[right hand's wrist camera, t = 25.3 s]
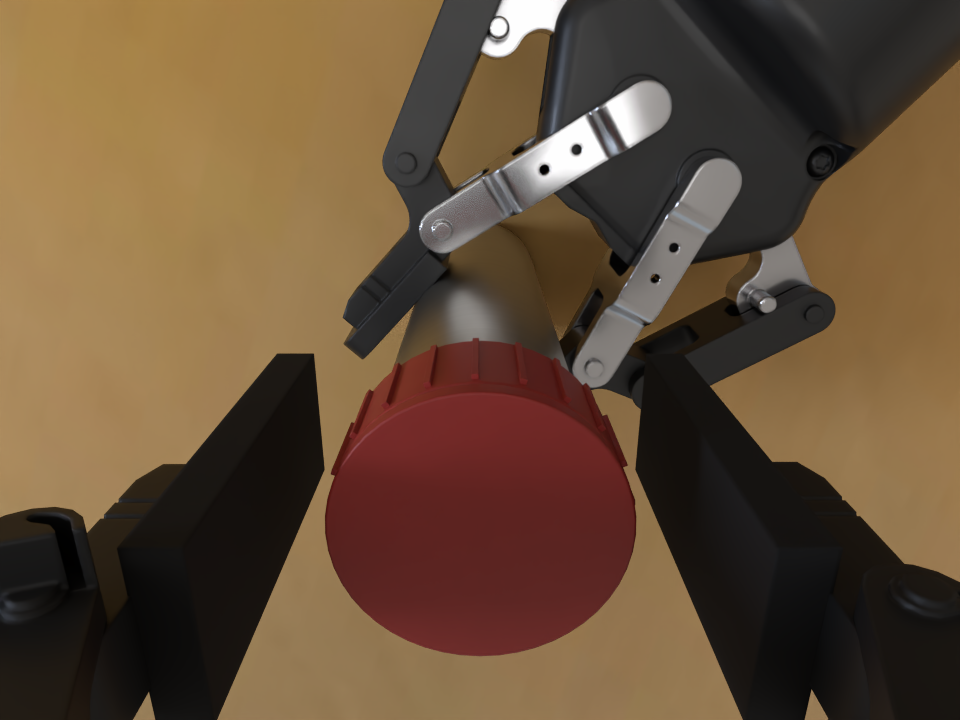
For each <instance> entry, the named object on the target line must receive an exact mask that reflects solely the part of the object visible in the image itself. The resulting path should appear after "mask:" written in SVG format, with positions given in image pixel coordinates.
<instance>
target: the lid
mask: <svg viewBox="0 0 960 720" xmlns="http://www.w3.org/2000/svg"><path fill="white" fill-rule="evenodd" d="M625 466H628V465H627V462H626V460H625V457H624V455H623V453H622V450H621V448H620V445H619V443H618V440H617V438H616V436H615V433H614V431H613V428H612V426H611V423H610V421H609V419H608V416H607V415H604V416H602V414H601V412H600V410H599V408H598V406H597V404H596V402H595V399H594V397H593V394H592V391H591V389H590V386H589V385H588V384H587V383H585V384H584V385H582V384H581V382H580V381H579V380H578V379H577V378H576V377H575V376H573V375H572V374H571V373H570V372H569V371H568V370H566V369H565V368H564V367H563V366H561V363H560V360H558V359H557V358H554V359H553V360H552V359H550V358H548V357H546V356H544V355H542V354H540V353H538V352H536V351H533V350H530V349H527V348H524V347H522V344H521V343H518V342H515V345H513V344H508V343H503V342H495V341H479V338H473V341H466V342H459V343H453V344H448V345H444V346H440V347H437V345H433V346H431V347H430V350H428V351H426V352H424V353H422V354H419V355H417V356H415V357H413V358H411V359H410V360H408V361H406V362H405V363H403V364H402V365H401V364H400V363H399V362H398V363H397V364H395V365H394V367H393V370H392V372H391V373H390V374H389V375H388V376H387V377H385V378H384V379H383V381H382V382H381V383H380V384H379V385H378V386H377V387H376V388H375V389H374V391H371V390H370V389H369V390H368V392H367V393H366V396H365V398H364V401H363V403H362V406H361V408H360V411H359V413H358V416H357V418H356V421H355V423H351V425H350V427H349V429H348V432H347V434H346V437H345V439H344V442H343V444H342V446H341V449H340V451H339V454H338V456H337V459H336V461H335V464H334V466H333V468H332V471H331V475H334V476H335V477H334V480H333V483H332V486H331V489H330V492H329V496H328V499H327V506H326V513H325V534H326V540H327V546H328V551H329V554H330V557H331V560H332V563H333V566H334V569H335V571H336V573H337V575H338V577H339V579H340V581H341V583H342V584H343V586H344V587H345V589H346V590H347V592H348V593H349V595H350V596H351V598H352V599H353V600H354V601H355V602H356V603H357V604H358V605H359V607H360V608H361V609H362V610H363V611H364V612H365V613H367V614H368V615H369V616H370V617H371V618H372V619H373V620H375V621H376V622H377V623H378V624H380V625H381V626H383V627H384V628H386V629H387V630H389V631H390V632H392V633H394V634H396V635H398V636H400V637H402V638H403V639H405V640H407V641H410V642H412V643H415V644H418V645H420V646H423V647H425V648H429V649H433V650H437V651H440V652H445V653H451V654H457V655H468V656H493V655H504V654H510V653H517V652H521V651H525V650H529V649H532V648H536V647H539V646H541V645H544V644H546V643H549V642H552V641H554V640H556V639H558V638H560V637H562V636H564V635H566V634H568V633H569V632H571V631H572V630H574V629H575V628H577V627H578V626H580V625H581V624H583V623H584V622H586V621H587V620H588V619H589V618H590V617H591V616H593V615H594V614H595V613H596V612H597V611H598V610H599V609H600V608H601V607H602V606H603V605H604V604H605V602H606V601H607V600H608V599H609V598H610V597H611V595H612V594H613V592H614V591H615V589H616V588H617V587H618V585H619V583H620V581H621V580H622V578H623V576H624V574H625V572H626V570H627V567H628V564H629V561H630V558H631V555H632V552H633V548H634V542H635V537H636V511H635V499H634V496H633V493H632V491H631V488H630V485H629V482H628V479H627V477H626V474H625V472H624V469H623V467H625Z"/></svg>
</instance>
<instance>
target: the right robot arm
mask: <svg viewBox="0 0 960 720" xmlns="http://www.w3.org/2000/svg"><path fill="white" fill-rule="evenodd" d="M324 470H325V469H324V458H323V447H322V436H321V426H320V415H319V404H318V393H317V382H316V371H315V361H314V354H277V355H276V356H275V357H274V358H273V359H272V361H271V362H270V363H269V364H268V365H267V367H266V368H265V369H264V370H263V372H262V373H261V374H260V375H259V376H258V378H257V379H256V380H255V381H254V382H253V384H252V385H251V386H250V387H249V388H248V390H247V391H246V392H245V393H244V395H243V396H242V397H241V398H240V399H239V401H238V402H237V403H236V404H235V405H234V407H233V408H232V409H231V410H230V411H229V413H228V414H227V415H226V416H225V418H224V419H223V420H222V421H221V422H220V424H219V425H218V426H217V427H216V428H215V430H214V431H213V432H212V433H211V435H210V436H209V437H208V438H207V439H206V441H205V442H204V443H203V444H202V445H201V447H200V448H199V449H198V450H197V451H196V453H195V454H194V455H193V456H192V458H191V459H190V460H189V461H188V462H187V464H163V465H161V466H159V467H158V468H156V469H154V470H153V471H151V472H149V473H148V474H146V475H144V476H142V477H141V478H139V479H137V480H136V481H135V482H134V483H133V484H132V485H131V486H130V487H129V488H128V489H127V491H126V492H125V493H124V494H123V495H122V496H121V497H120V498H119V502H118V503H115V504H114V505H113V506H112V507H111V508H110V509H109V510H108V511H107V512H106V513H105V514H104V519H100V520H99V521H98V522H97V523H96V524H95V525H94V526H93V527H92V528H91V530H90V531H89V532H88V533H87V532H86V528H85V524H84V519H83V517H82V516H81V515H79V514H78V513H76V512H75V511H74V510H71V509H64V508H58V507H48V508H36V509H29V510H25V511H21V512H17V513H13V514H9V515H5V516H3V517H0V720H133V719H134V717H135V715H136V713H137V712H138V710H139V708H140V706H141V705H142V703H143V701H144V699H145V697H146V696H147V694H148V692H149V693H150V698H151V702H152V707H153V711H154V715H155V720H217V719H218V716H219V714H220V712H221V709H222V707H223V705H224V702H225V700H226V698H227V695H228V693H229V691H230V688H231V686H232V684H233V681H234V679H235V677H236V674H237V672H238V670H239V667H240V665H241V663H242V660H243V658H244V656H245V654H246V651H247V649H248V647H249V644H250V642H251V640H252V637H253V635H254V633H255V630H256V628H257V626H258V623H259V621H260V619H261V616H262V614H263V612H264V609H265V607H266V605H267V602H268V600H269V598H270V595H271V593H272V591H273V588H274V586H275V584H276V581H277V579H278V577H279V574H280V572H281V570H282V567H283V565H284V563H285V560H286V558H287V556H288V553H289V551H290V549H291V546H292V544H293V542H294V540H295V537H296V535H297V533H298V530H299V528H300V526H301V523H302V521H303V519H304V516H305V514H306V512H307V509H308V507H309V505H310V502H311V500H312V498H313V495H314V493H315V491H316V488H317V486H318V484H319V481H320V479H321V477H322V474H323V472H324ZM635 470H636V472H637V474H638V477H639V479H640V481H641V484H642V486H643V488H644V491H645V493H646V495H647V498H648V500H649V502H650V505H651V507H652V509H653V512H654V514H655V516H656V519H657V521H658V523H659V526H660V528H661V530H662V533H663V535H664V537H665V540H666V542H667V544H668V546H669V549H670V551H671V553H672V556H673V558H674V560H675V563H676V565H677V567H678V570H679V572H680V574H681V577H682V579H683V581H684V584H685V586H686V588H687V591H688V593H689V595H690V598H691V600H692V602H693V605H694V607H695V609H696V612H697V614H698V616H699V619H700V621H701V623H702V626H703V628H704V630H705V633H706V635H707V637H708V640H709V642H710V644H711V647H712V649H713V651H714V653H715V656H716V658H717V660H718V663H719V665H720V667H721V670H722V672H723V674H724V677H725V679H726V681H727V684H728V686H729V688H730V691H731V693H732V695H733V698H734V700H735V702H736V705H737V707H738V709H739V712H740V714H741V716H742V719H743V720H805V715H806V711H807V707H808V702H809V698H810V693H811V689H812V690H813V692H814V694H815V696H816V697H817V699H818V701H819V703H820V704H821V706H822V708H823V710H824V712H825V713H826V715H827V717H828V720H960V582H958V581H956V580H954V579H952V578H950V577H948V576H945V575H943V574H941V573H939V572H937V571H933V570H930V569H926V568H923V567H919V566H916V565H910V564H904V563H903V562H902V561H901V560H900V559H899V558H898V556H897V555H896V554H895V553H894V552H893V551H892V550H891V549H890V548H889V547H888V546H887V545H886V544H885V543H884V541H883V540H882V539H881V538H880V537H879V536H878V535H877V534H876V533H875V532H874V531H873V530H872V529H871V527H870V526H869V525H868V524H867V523H866V522H865V521H864V520H863V519H862V518H861V517H860V516H857V515H856V511H855V510H854V509H853V508H852V507H851V506H850V505H849V504H848V503H847V502H846V501H845V500H842V496H841V495H840V494H839V493H838V492H837V491H836V490H835V489H834V488H833V487H832V486H831V485H830V483H829V482H828V481H827V480H826V479H825V478H824V477H822V476H820V475H818V474H817V473H815V472H813V471H812V470H810V469H808V468H807V467H805V466H803V465H801V464H800V463H798V462H772V461H771V460H770V459H769V458H768V456H767V455H766V454H765V453H764V451H763V450H762V449H761V448H760V447H759V445H758V444H757V443H756V442H755V441H754V439H753V438H752V437H751V436H750V434H749V433H748V432H747V431H746V430H745V428H744V427H743V426H742V425H741V424H740V422H739V421H738V420H737V419H736V418H735V416H734V415H733V414H732V413H731V411H730V410H729V409H728V408H727V407H726V405H725V404H724V403H723V402H722V401H721V399H720V398H719V397H718V396H717V395H716V393H715V392H714V391H713V390H712V388H711V387H710V386H709V385H708V384H707V382H706V381H705V380H704V379H703V378H702V376H701V375H700V374H699V373H698V372H697V370H696V369H695V368H694V367H693V365H692V364H691V363H690V362H689V361H688V359H687V358H686V357H685V356H684V355H683V354H646V361H645V371H644V382H643V393H642V404H641V415H640V426H639V436H638V447H637V458H636V469H635Z"/></svg>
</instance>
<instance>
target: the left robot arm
mask: <svg viewBox="0 0 960 720" xmlns="http://www.w3.org/2000/svg"><path fill="white" fill-rule="evenodd" d="M533 33H545V34H548V35H550V41H549V48H548V56H547V63H546V70H545V77H544V84H543V91H542V99H541V106H540V113H539V120H538V127H537V133H536V134H535V135H533V136H531V137H530V138H528V139H527V140H525V141H524V142H522V143H520V144H519V145H517V146H516V147H514V148H512V149H511V150H509V151H508V152H506V153H505V154H503V155H501V156H500V157H498V158H497V159H495V160H494V161H492V162H491V163H490V164H488V165H487V166H486V167H485V168H483V169H482V170H480V171H479V172H477V173H475V174H474V175H472V176H471V177H469V178H468V179H466V180H464V181H463V182H461V183H460V184H458V185H457V186H455V187H453V186H452V184H451V182H450V180H449V179H448V177H447V175H446V173H445V171H444V169H443V167H442V165H441V163H440V161H439V159H438V156H439V154H440V151H441V149H442V146H443V144H444V142H445V139H446V137H447V135H448V132H449V130H450V127H451V125H452V123H453V120H454V118H455V116H456V113H457V111H458V108H459V106H460V104H461V101H462V99H463V96H464V94H465V92H466V89H467V87H468V85H469V82H470V80H471V77H472V75H473V73H474V70H475V68H476V66H477V63H478V61H479V58H480V56H481V55H483V56H485V57H487V58H490V59H493V60H501V59H504V58H507V57H508V56H510V55H511V54H512V53H513V52H514V51H515V50H516V48H517V47H518V45H519V43H520V42H521V41H522V40H523V39H524V38H525V37H527V36H528V35H531V34H533ZM959 60H960V0H444V2H443V4H442V7H441V9H440V12H439V14H438V17H437V19H436V22H435V25H434V27H433V30H432V32H431V35H430V37H429V40H428V42H427V45H426V48H425V50H424V53H423V55H422V58H421V60H420V63H419V65H418V68H417V70H416V73H415V76H414V78H413V81H412V83H411V86H410V88H409V91H408V93H407V96H406V98H405V101H404V104H403V106H402V109H401V111H400V114H399V116H398V119H397V121H396V124H395V126H394V129H393V132H392V134H391V137H390V139H389V142H388V144H387V147H386V149H385V152H384V155H383V169H384V172H385V174H386V175H387V177H388V178H389V179H390V181H392V182H393V183H394V184H395V186H396V188H397V189H398V191H399V193H400V195H401V197H402V199H403V200H404V202H405V204H406V206H407V208H408V212H409V217H410V223H409V228H408V230H407V232H406V233H405V234H404V235H403V236H402V237H401V238H400V240H399V241H398V242H397V243H396V244H395V245H394V246H393V247H392V249H391V250H390V251H389V252H388V253H387V254H386V255H385V257H384V258H383V259H382V260H381V261H380V262H379V263H378V265H377V266H376V267H375V268H374V269H373V270H372V271H371V272H370V274H369V275H368V276H367V277H366V278H365V279H364V280H363V282H362V283H361V284H360V285H359V286H358V287H357V288H356V290H355V291H354V293H353V294H352V296H351V297H350V299H349V300H348V303H347V306H346V309H345V312H344V315H343V318H344V319H345V320H346V321H347V322H349V323H350V324H351V325H352V326H353V328H352V330H351V332H350V333H349V335H348V337H347V339H346V340H345V342H344V345H345V346H346V347H348V348H349V349H350V350H351V351H353V352H354V353H355V354H356V355H357V356H359V357H360V358H361V359H364V358H365V357H366V356H367V355H368V354H369V353H370V352H371V351H372V350H373V349H374V348H375V347H376V346H377V345H378V344H379V342H380V341H381V340H382V339H383V338H384V337H385V336H386V335H387V334H388V333H389V332H390V331H391V329H392V328H393V327H394V326H395V325H396V324H397V323H398V322H399V321H400V320H401V319H402V318H403V316H404V315H405V314H406V313H407V312H408V311H409V310H410V309H411V308H412V307H413V306H414V304H415V303H416V302H417V301H418V300H419V299H420V298H421V297H422V295H423V294H424V293H425V292H426V291H427V290H428V289H429V288H430V287H431V286H432V285H433V284H434V283H435V282H436V281H437V279H438V278H439V277H440V276H441V275H442V274H443V273H444V272H445V271H446V270H447V267H448V262H449V257H450V253H451V252H452V251H454V250H456V249H457V248H459V247H460V246H462V245H464V244H465V243H467V242H469V241H470V240H472V239H473V238H475V237H477V236H478V235H480V234H482V233H483V232H485V231H486V230H488V229H490V228H491V227H493V226H495V225H496V224H498V223H500V222H501V221H503V220H504V219H506V218H508V217H510V216H513V215H516V214H519V213H521V212H523V211H525V210H526V209H528V208H530V207H531V206H533V205H535V204H536V203H538V202H539V201H541V200H543V199H544V198H546V197H548V196H549V195H551V194H553V193H555V194H556V195H557V196H558V197H559V198H560V199H561V200H562V201H563V202H564V203H565V204H566V205H567V206H568V207H569V208H571V209H572V210H574V211H576V212H578V213H580V214H582V215H583V216H585V217H587V218H589V220H590V221H591V223H592V225H593V227H594V228H595V230H596V232H597V234H598V235H599V236H600V237H601V238H602V240H603V241H604V242H605V243H606V244H607V245H608V246H609V248H608V250H607V252H606V254H605V255H604V257H603V259H602V260H601V262H600V264H599V266H598V268H597V270H596V272H595V274H594V277H593V282H592V285H591V288H590V290H589V291H588V293H587V295H586V297H585V298H584V300H583V302H582V304H581V305H580V307H579V309H578V310H577V312H576V314H575V316H574V317H573V319H572V321H571V323H570V324H569V326H568V328H567V330H566V331H565V333H564V336H563V338H562V339H561V340H560V341H559V343H560V346H561V349H562V352H563V355H564V358H565V361H566V364H567V367H568V370H569V372H570V373H571V374H572V375H573V376H575V377H576V378H577V379H578V380H579V381H580V382H581V384H582V385H584V384H585V383H587V384H588V385H589V386H590V389H591V390H593V389H607V390H610V391H613V392H615V393H618V394H621V395H623V396H626V397H628V398H631V399H633V401H634V403H635V405H636V406H637V407H639V408H640V409H641V404H642V393H643V382H644V371H645V361H646V354H683V355H684V356H685V357H686V358H687V359H688V361H689V362H690V363H691V364H692V365H693V367H694V368H695V369H696V370H697V372H698V373H699V374H700V375H701V376H702V378H703V379H704V380H705V381H706V382H707V384H708V385H709V386H710V385H712V384H714V383H716V382H718V381H720V380H723V379H725V378H727V377H729V376H731V375H733V374H735V373H737V372H739V371H741V370H743V369H745V368H747V367H749V366H751V365H753V364H755V363H757V362H759V361H761V360H764V359H766V358H768V357H770V356H772V355H774V354H776V353H778V352H780V351H782V350H784V349H786V348H788V347H790V346H792V345H794V344H796V343H798V342H800V341H802V340H805V339H807V338H809V337H811V336H813V335H815V334H817V333H819V332H821V331H823V330H824V329H825V328H827V327H828V326H829V325H830V323H831V322H832V320H833V318H834V315H835V304H834V301H833V300H832V298H831V297H830V296H828V295H827V294H825V293H823V292H821V291H819V290H818V289H817V288H816V287H814V286H813V285H812V284H811V281H810V279H809V276H808V274H807V271H806V269H805V266H804V264H803V261H802V259H801V257H800V254H799V252H798V249H797V247H796V244H795V242H794V239H793V237H792V235H793V234H794V233H795V232H796V231H797V229H798V228H799V227H800V225H801V223H802V221H803V219H804V217H805V214H806V212H807V209H808V206H809V204H810V202H811V200H812V198H813V197H814V195H815V193H816V192H817V190H818V189H819V187H820V186H821V185H822V183H823V182H824V181H825V180H826V179H827V178H828V177H830V176H831V175H832V174H833V173H834V172H836V171H837V170H838V169H840V168H841V167H842V166H844V165H845V164H846V163H848V162H849V161H850V160H851V159H853V158H854V157H855V156H856V155H858V154H859V153H860V152H861V151H862V150H863V149H865V148H866V147H867V146H868V145H869V144H870V143H871V142H872V141H873V140H874V139H875V138H876V137H877V136H878V135H879V134H881V133H882V132H883V131H884V130H885V129H886V128H887V127H888V126H889V125H890V124H891V123H892V122H893V121H894V120H896V119H897V118H898V117H899V116H900V115H901V114H902V113H903V112H904V111H905V110H906V109H907V108H908V107H909V106H910V105H912V104H913V103H914V102H915V101H916V100H917V99H918V98H919V97H920V96H921V95H922V94H923V93H924V92H925V91H926V90H928V89H929V88H930V87H931V86H932V85H933V84H934V83H935V82H936V81H937V80H938V79H939V78H940V77H941V76H943V75H944V74H945V73H946V72H947V71H948V70H949V69H950V68H951V67H952V66H953V65H954V64H955V63H956V62H957V61H959ZM747 253H750V256H749V260H748V262H747V264H746V266H745V267H744V268H743V269H742V270H741V271H740V272H739V273H737V274H736V275H734V276H733V277H732V278H731V279H730V281H729V282H728V284H727V287H726V297H724V298H722V299H720V300H718V301H716V302H714V303H712V304H710V305H708V306H706V307H704V308H702V309H700V310H698V311H696V312H694V313H692V314H691V315H689V316H687V317H685V318H683V319H681V320H679V321H677V322H675V323H673V324H671V325H669V326H667V327H665V328H663V329H661V330H659V331H657V332H655V333H653V334H651V335H649V336H647V337H645V338H643V339H642V340H640V341H638V342H636V343H634V341H635V339H636V338H637V336H638V335H639V333H640V331H641V330H642V329H643V328H644V327H645V326H646V325H649V324H651V323H652V322H653V321H654V320H655V319H656V318H657V316H658V315H659V313H660V312H661V310H662V308H663V307H664V305H665V304H666V302H667V300H668V299H669V297H670V296H671V294H672V292H673V291H674V289H675V288H676V286H677V284H678V283H679V281H680V280H681V278H682V276H683V275H684V273H685V271H686V270H687V268H688V267H689V265H691V264H696V263H701V262H706V261H711V260H716V259H721V258H727V257H732V256H737V255H742V254H747ZM653 274H655V276H654V277H653V278H651V276H652V275H653ZM650 278H651V279H650ZM633 343H634V344H633Z"/></svg>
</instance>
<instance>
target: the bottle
mask: <svg viewBox="0 0 960 720" xmlns="http://www.w3.org/2000/svg"><path fill="white" fill-rule="evenodd" d="M473 338H479V341H495V342H503V343H508V344H513V345H515V342H518V343H521V344H522V347H524V348H527V349H530V350H533V351H536V352H538V353H540V354H542V355H544V356H546V357H548V358H550V359H552V360H553V359H554V358H557V359H558V360H560V363H561V366H563V367H564V368H565V369H566V370H568V367H567V364H566V361H565V358H564V355H563V352H562V349H561V346H560V343H559V340H558V337H557V334H556V331H555V328H554V325H553V322H552V319H551V316H550V313H549V310H548V307H547V304H546V301H545V298H544V295H543V292H542V290H541V287H540V284H539V281H538V278H537V275H536V272H535V269H534V266H533V263H532V260H531V257H530V254H529V252H528V250H527V248H526V247H525V245H524V244H523V242H522V241H521V240H520V239H519V238H518V237H517V236H516V235H515V234H514V233H512V232H511V231H509V230H508V229H506V228H504V227H502V226H499V225H495V226H493V227H491V228H490V229H488V230H486V231H485V232H483V233H482V234H480V235H478V236H477V237H475V238H473V239H472V240H470V241H469V242H467V243H465V244H464V245H462V246H460V247H459V248H457V249H456V250H454V251H452V252H451V253H450V257H449V262H448V267H447V270H446V271H445V272H444V273H443V274H442V275H441V276H440V277H439V278H438V279H437V281H436V282H435V283H434V284H433V285H432V286H431V287H430V288H429V289H428V290H427V291H426V292H425V293H424V294H423V295H422V297H421V298H420V299H419V300H418V301H417V302H416V303H415V305H414V308H413V311H412V314H411V317H410V320H409V323H408V326H407V329H406V332H405V335H404V338H403V341H402V344H401V347H400V350H399V353H398V356H397V359H396V362H395V364H397V363H398V362H399V363H400V364H401V365H402V364H403V363H405V362H406V361H408V360H410V359H411V358H413V357H415V356H417V355H419V354H422V353H424V352H426V351H428V350H430V347H431V346H433V345H437V347H440V346H444V345H448V344H453V343H459V342H466V341H473ZM568 371H569V370H568Z"/></svg>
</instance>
